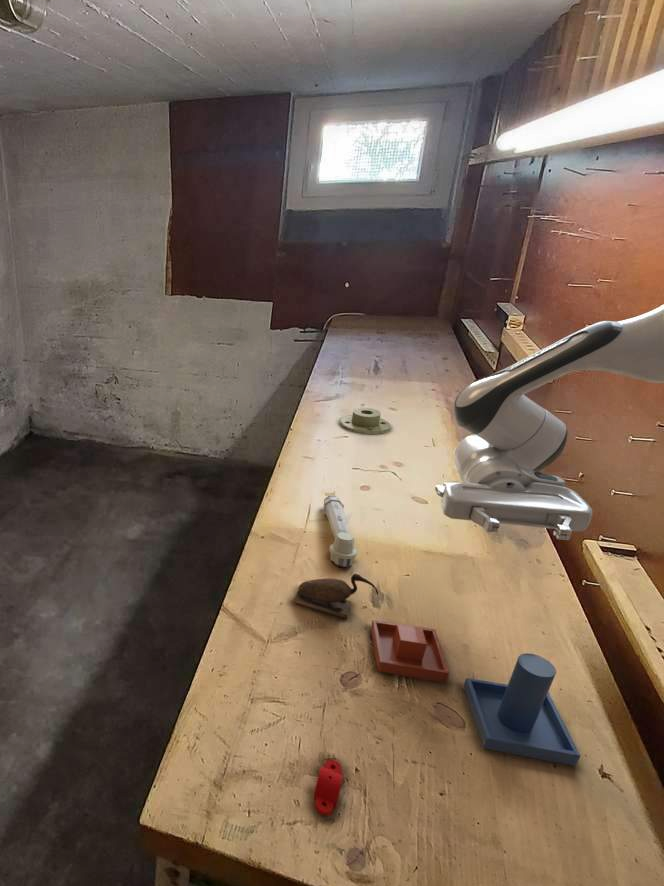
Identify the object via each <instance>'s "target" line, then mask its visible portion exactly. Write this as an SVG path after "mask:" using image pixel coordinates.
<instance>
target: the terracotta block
mask: <svg viewBox="0 0 664 886" xmlns="http://www.w3.org/2000/svg"><path fill="white" fill-rule="evenodd" d="M396 624H397V625H396V630H395V634H394V638H393V645H394V650H395V655H396V658H399V659H405V660H411V661H417V662H422V661H423V657H424V653H425V650H426V646H427V643H426V639H425V636H424V632H423V629H422V628H423V627H422V628H421V626H415V625H409V626H407V625H408V624H402V625H401V623H396ZM414 626H415V627H414Z"/></svg>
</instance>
